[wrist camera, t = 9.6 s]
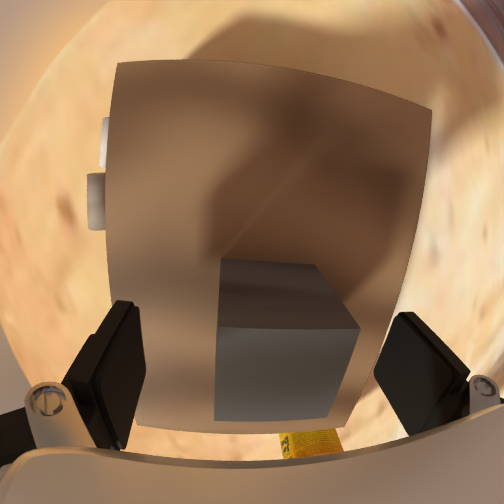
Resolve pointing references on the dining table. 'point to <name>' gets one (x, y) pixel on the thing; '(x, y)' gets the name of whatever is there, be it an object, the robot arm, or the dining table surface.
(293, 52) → the dining table surface
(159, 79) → the door
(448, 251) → the dining table surface
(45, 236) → the dining table surface
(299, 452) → the supplement bottle
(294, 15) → the dining table surface
